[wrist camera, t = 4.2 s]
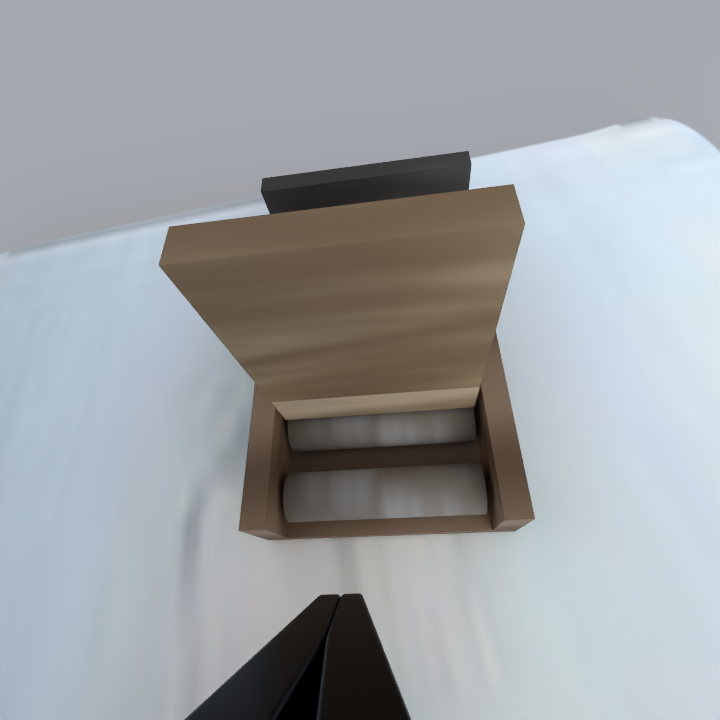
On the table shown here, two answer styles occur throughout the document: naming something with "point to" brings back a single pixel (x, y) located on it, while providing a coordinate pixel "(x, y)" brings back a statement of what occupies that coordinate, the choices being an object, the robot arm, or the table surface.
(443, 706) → the table surface
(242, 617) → the table surface
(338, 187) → the roller track
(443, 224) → the slab
